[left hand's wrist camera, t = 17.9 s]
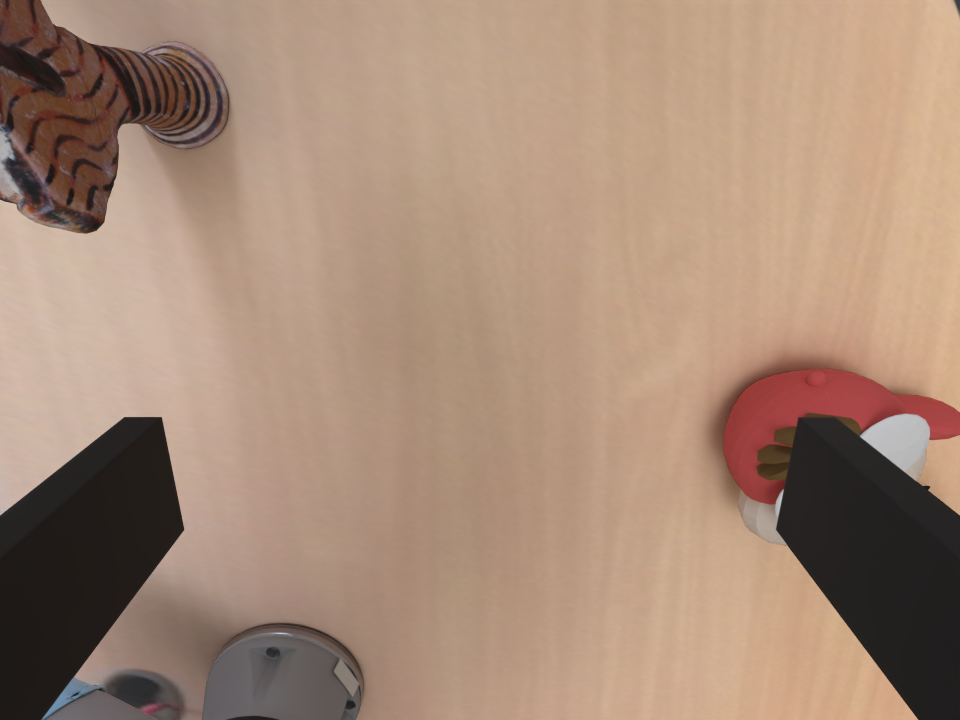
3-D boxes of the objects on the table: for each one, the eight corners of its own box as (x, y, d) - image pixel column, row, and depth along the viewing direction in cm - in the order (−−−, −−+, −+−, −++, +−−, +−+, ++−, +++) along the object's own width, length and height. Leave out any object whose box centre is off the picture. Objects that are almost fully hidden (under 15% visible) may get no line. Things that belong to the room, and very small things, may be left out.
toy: (864, 710, 53) (732, 483, 41) (792, 619, 62) (668, 413, 50) (1060, 601, 51) (982, 329, 39) (956, 524, 60) (868, 286, 48)
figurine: (72, 13, 41) (-817, -253, 13) (165, -45, 40) (-588, -476, 12) (198, 213, 46) (-253, 339, 18) (285, 167, 44) (-49, 221, 16)
